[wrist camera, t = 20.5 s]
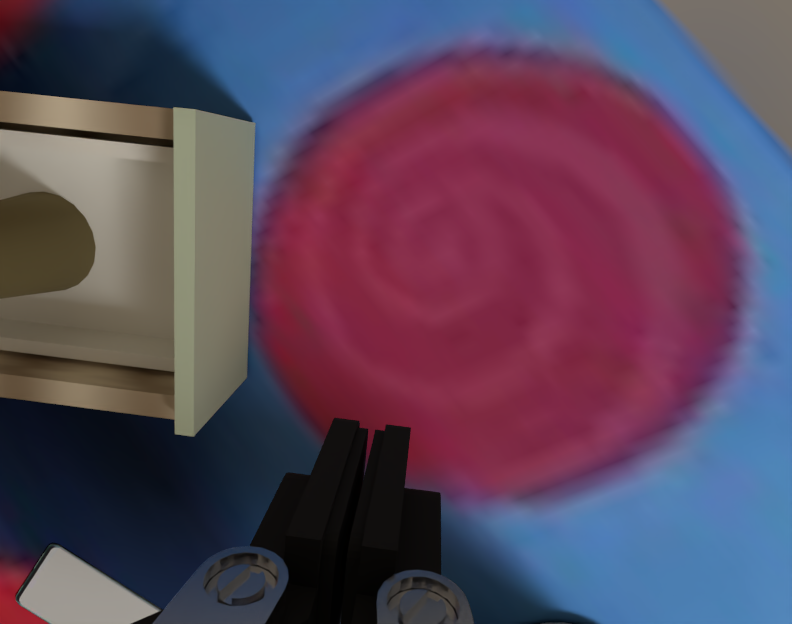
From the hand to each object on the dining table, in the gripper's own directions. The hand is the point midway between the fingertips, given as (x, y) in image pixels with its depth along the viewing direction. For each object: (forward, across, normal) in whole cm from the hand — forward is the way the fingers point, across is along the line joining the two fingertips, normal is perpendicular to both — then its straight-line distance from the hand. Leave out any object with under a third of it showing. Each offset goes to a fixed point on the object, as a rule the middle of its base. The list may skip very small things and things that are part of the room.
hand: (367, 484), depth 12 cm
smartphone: (+24, +20, +30) cm, 43 cm away
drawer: (+23, +19, 0) cm, 30 cm away
